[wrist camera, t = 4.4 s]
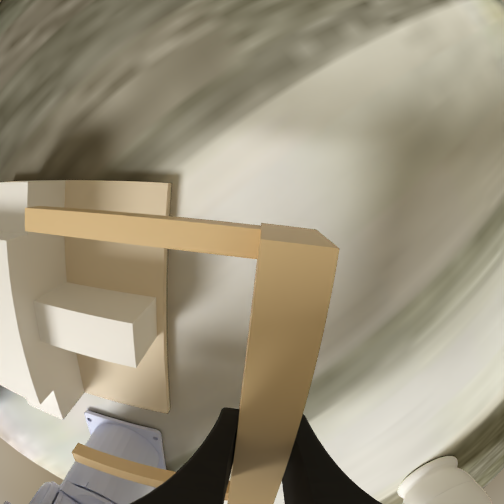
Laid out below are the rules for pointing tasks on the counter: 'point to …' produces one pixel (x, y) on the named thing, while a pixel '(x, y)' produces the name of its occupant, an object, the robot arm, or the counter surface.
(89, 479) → the robot arm
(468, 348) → the counter surface
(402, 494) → the jar
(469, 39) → the counter surface
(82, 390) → the stand
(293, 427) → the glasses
